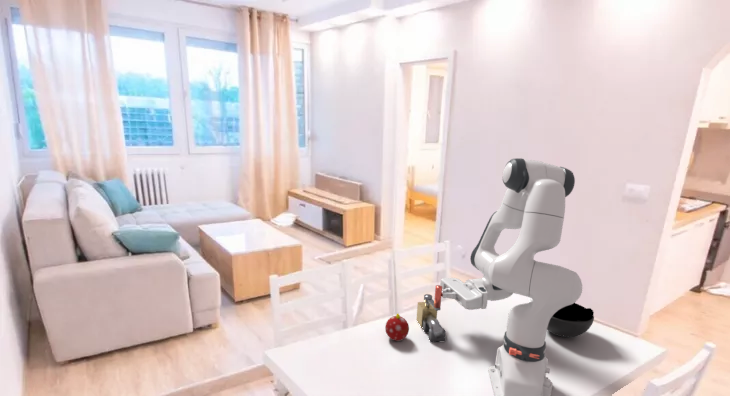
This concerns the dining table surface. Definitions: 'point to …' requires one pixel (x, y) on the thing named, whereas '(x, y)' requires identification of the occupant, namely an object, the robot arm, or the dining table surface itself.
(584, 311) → the bowl of black rocks
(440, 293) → the lever
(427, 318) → the valve
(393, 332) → the christmas ornament
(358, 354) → the dining table surface
